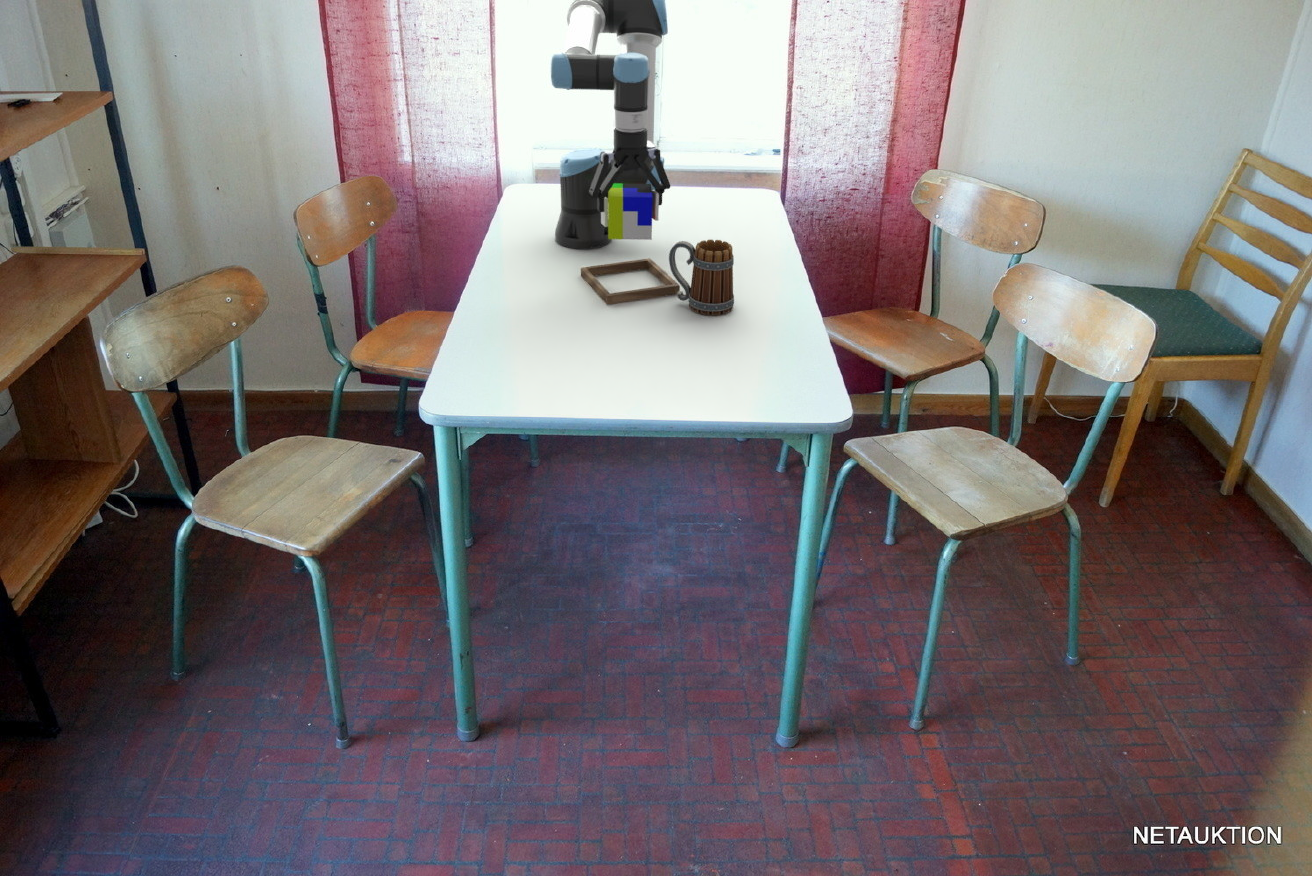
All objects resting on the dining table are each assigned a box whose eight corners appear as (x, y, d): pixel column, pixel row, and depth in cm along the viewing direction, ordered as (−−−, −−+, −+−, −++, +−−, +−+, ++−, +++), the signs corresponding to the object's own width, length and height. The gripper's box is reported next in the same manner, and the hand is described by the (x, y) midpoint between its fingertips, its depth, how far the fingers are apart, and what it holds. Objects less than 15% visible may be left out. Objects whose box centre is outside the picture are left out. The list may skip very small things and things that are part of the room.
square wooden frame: (580, 276, 251) (580, 267, 250) (649, 266, 257) (649, 258, 256) (607, 305, 236) (607, 296, 235) (679, 294, 243) (679, 285, 242)
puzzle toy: (651, 239, 236) (652, 197, 230) (608, 239, 235) (608, 196, 230) (650, 225, 244) (651, 183, 239) (608, 224, 244) (608, 183, 239)
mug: (738, 302, 239) (743, 241, 232) (726, 319, 231) (730, 257, 223) (675, 292, 244) (677, 232, 236) (661, 309, 235) (662, 247, 227)
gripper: (585, 136, 220) (586, 233, 231) (686, 127, 228) (683, 221, 240) (573, 128, 226) (575, 222, 237) (673, 119, 234) (670, 211, 245)
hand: (629, 222), depth 238 cm, fingers closed on puzzle toy, 12 cm apart
